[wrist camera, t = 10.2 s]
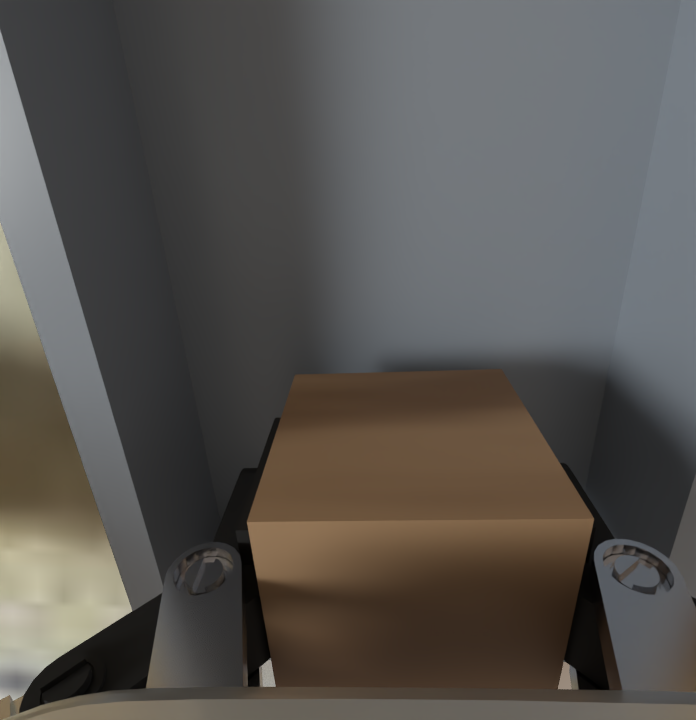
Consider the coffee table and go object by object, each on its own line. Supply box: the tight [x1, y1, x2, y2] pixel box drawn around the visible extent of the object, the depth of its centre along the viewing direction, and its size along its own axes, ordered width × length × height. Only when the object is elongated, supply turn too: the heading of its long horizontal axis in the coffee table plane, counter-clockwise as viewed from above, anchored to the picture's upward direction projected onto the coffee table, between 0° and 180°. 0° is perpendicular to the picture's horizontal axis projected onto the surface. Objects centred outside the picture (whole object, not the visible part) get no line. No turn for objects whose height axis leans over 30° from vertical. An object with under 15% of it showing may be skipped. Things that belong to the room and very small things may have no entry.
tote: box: [0, 0, 696, 662], centre depth 10 cm, size 22×14×5 cm, turn 3°
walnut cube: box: [247, 369, 594, 689], centre depth 10 cm, size 5×5×5 cm
